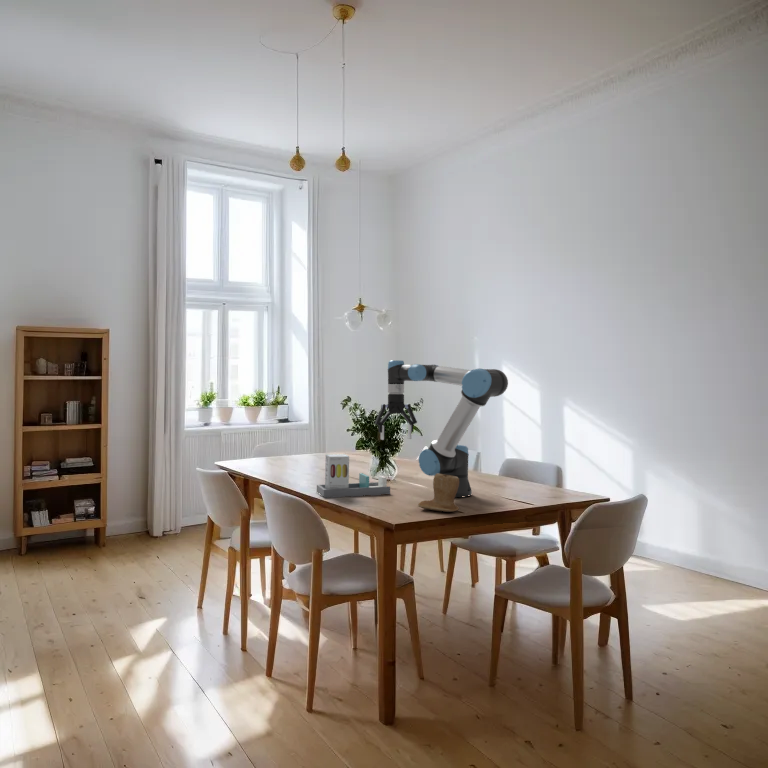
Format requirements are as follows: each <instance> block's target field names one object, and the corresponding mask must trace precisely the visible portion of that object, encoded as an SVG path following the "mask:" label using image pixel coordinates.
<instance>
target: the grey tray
mask: <svg viewBox="0 0 768 768" xmlns="http://www.w3.org/2000/svg"><path fill="white" fill-rule="evenodd" d="M369 486H378V482H377V481H375V482H373V481H372V482H369ZM317 492H318V493H320V494H321V495H322V496H324V497H331V498H345V496H351V497H364V496H365V495H371V496H382V495H381V494H390V495H391V486H390V485H389V486H387V487H366V488H359V482H355V483H354V482H353V483H352V482H350V483H349V488H344V489H325V484H316V493H317ZM318 493H317V494H318ZM321 495H320V496H321ZM363 495H364V496H363ZM322 496H321V497H322ZM342 496H343V497H342ZM365 497H366V496H365Z"/></svg>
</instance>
